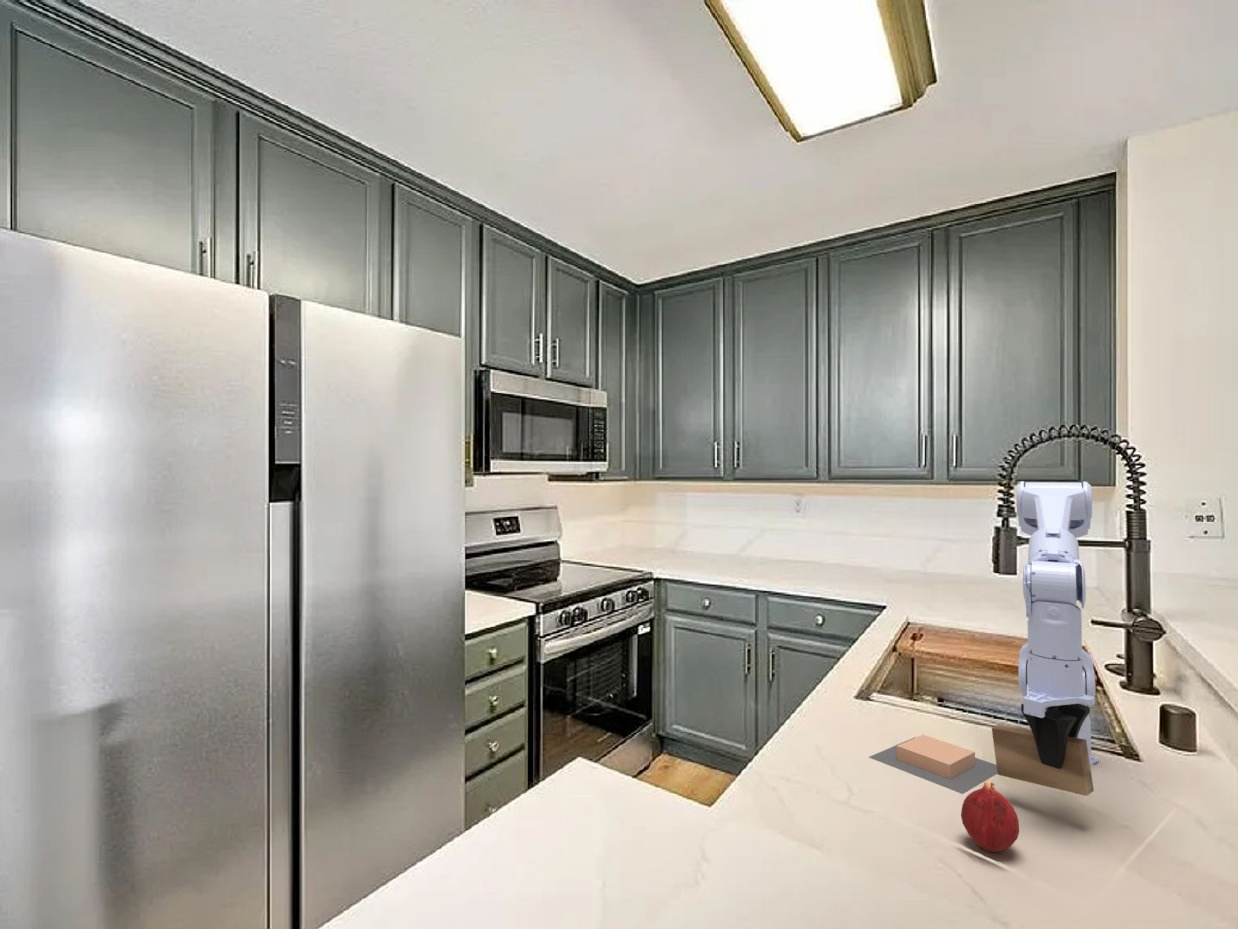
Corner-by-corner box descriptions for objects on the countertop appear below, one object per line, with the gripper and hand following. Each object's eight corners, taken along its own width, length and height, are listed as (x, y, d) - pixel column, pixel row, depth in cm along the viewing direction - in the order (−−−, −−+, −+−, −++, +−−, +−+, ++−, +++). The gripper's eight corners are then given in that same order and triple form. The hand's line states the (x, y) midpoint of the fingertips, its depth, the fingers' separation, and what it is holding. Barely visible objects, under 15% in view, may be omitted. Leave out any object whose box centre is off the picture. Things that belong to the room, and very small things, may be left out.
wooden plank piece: (1005, 770, 84) (999, 724, 84) (1093, 790, 76) (1086, 739, 77) (997, 774, 82) (991, 728, 83) (1086, 796, 74) (1079, 744, 75)
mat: (914, 740, 103) (914, 737, 103) (1006, 771, 92) (1006, 768, 92) (868, 760, 95) (868, 757, 95) (962, 797, 84) (962, 793, 84)
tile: (975, 765, 93) (922, 747, 99) (975, 752, 93) (922, 734, 99) (949, 779, 88) (896, 759, 95) (949, 765, 88) (896, 746, 95)
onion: (1029, 871, 67) (1028, 797, 68) (972, 864, 69) (971, 791, 69) (1006, 841, 73) (1006, 773, 73) (954, 835, 74) (954, 768, 75)
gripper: (1071, 671, 71) (1073, 790, 70) (1111, 654, 80) (1113, 760, 79) (1004, 657, 77) (1005, 767, 76) (1048, 643, 85) (1049, 742, 85)
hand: (1055, 762), depth 78 cm, fingers closed on wooden plank piece, 2 cm apart
